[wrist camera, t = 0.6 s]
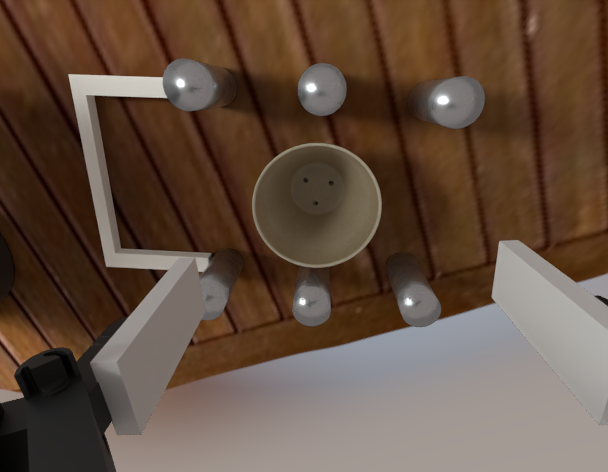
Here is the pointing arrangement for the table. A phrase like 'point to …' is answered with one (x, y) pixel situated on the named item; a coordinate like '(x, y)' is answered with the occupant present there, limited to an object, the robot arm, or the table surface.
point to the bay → (98, 174)
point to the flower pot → (316, 205)
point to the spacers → (323, 101)
